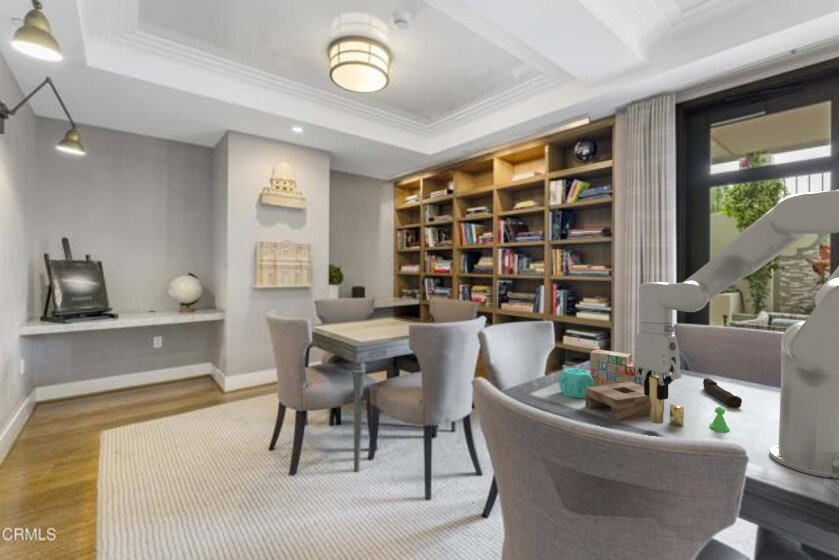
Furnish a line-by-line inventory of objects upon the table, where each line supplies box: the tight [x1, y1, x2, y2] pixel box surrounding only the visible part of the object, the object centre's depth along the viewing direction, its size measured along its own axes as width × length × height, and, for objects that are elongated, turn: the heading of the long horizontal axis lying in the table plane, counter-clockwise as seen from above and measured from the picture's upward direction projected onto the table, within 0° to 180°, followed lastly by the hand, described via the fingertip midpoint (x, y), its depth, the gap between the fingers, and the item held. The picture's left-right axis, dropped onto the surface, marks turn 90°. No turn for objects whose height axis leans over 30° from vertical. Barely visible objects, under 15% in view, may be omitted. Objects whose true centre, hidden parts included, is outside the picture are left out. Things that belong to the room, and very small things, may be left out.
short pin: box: [669, 403, 685, 427], centre depth 107 cm, size 3×3×5 cm
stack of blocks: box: [589, 348, 658, 386], centre depth 137 cm, size 21×6×12 cm, turn 44°
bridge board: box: [585, 382, 665, 422], centre depth 117 cm, size 12×18×6 cm, turn 109°
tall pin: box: [648, 375, 664, 425], centre depth 103 cm, size 3×3×12 cm
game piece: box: [709, 406, 731, 433], centre depth 104 cm, size 4×4×6 cm
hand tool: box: [702, 377, 743, 409], centre depth 127 cm, size 19×4×5 cm, turn 165°
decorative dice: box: [558, 367, 595, 399], centre depth 131 cm, size 8×8×8 cm
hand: (655, 396), depth 103 cm, fingers closed on tall pin, 3 cm apart
